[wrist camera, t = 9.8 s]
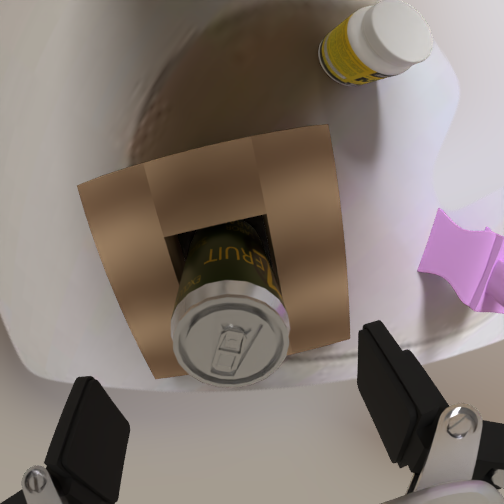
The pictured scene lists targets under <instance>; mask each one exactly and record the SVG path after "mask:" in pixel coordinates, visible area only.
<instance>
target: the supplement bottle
mask: <svg viewBox="0 0 504 504" xmlns="http://www.w3.org/2000/svg"><path fill="white" fill-rule="evenodd" d="M432 47H433V38H432V33H431V31H430V28H429V26H428V24H427V22H426V20H425V19H424V18H423V16H422V15H421V14H420V13H419V12H418V11H417V10H416V9H414V8H413V7H412V6H410V5H409V4H407V3H405V2H402V1H400V0H383V1H380V2H378V3H377V4H375V5H374V6H367V7H363V8H361V9H359V10H357V11H356V12H354V13H353V14H352V15H350V16H349V17H348V18H347V19H346V20H344V21H343V22H342V23H341V24H340V25H338V26H337V27H336V28H335V29H333V30H332V31H331V32H330V33H329V34H327V35H326V36H325V37H324V38H323V40H322V41H321V43H320V45H319V50H318V56H319V61H320V64H321V66H322V68H323V69H324V71H325V72H326V73H327V75H328V76H329V77H331V78H332V79H333V80H335V81H336V82H338V83H340V84H343V85H346V86H359V85H363V84H366V83H370V82H373V81H377V80H380V79H384V78H387V77H391V76H395V75H399V74H401V73H403V72H405V71H407V70H408V69H409V68H410V67H411V66H412V65H414V64H416V63H419V62H422V61H424V60H425V59H427V58H428V56H429V55H430V53H431V51H432Z"/></svg>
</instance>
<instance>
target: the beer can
mask: <svg viewBox="0 0 504 504" xmlns="http://www.w3.org/2000/svg"><path fill="white" fill-rule="evenodd" d="M289 332H290V325H289V318H288V313H287V310H286V307H285V305H284V302H283V299H282V296H281V294H280V291H279V288H278V285H277V283H276V280H275V277H274V274H273V272H272V269H271V266H270V264H269V261H268V258H267V255H266V253H265V250H264V247H263V245H262V242H261V239H260V237H259V236H258V234H257V232H256V230H255V229H254V228H253V227H251V226H250V225H249V224H248V223H247V222H245V221H243V220H236V221H231V222H227V223H222V224H218V225H214V226H209V227H205V228H201V229H198V230H197V232H196V233H195V234H194V237H193V239H192V242H191V244H190V248H189V251H188V255H187V259H186V263H185V266H184V270H183V274H182V278H181V282H180V285H179V289H178V293H177V297H176V301H175V305H174V309H173V313H172V318H171V338H172V341H173V351H174V354H175V356H176V358H177V361H178V363H179V364H180V365H181V367H182V368H183V369H184V370H185V371H186V372H187V373H188V374H189V375H191V376H192V377H194V378H196V379H197V380H199V381H201V382H202V383H206V384H209V385H213V386H216V387H226V388H237V387H243V386H248V385H252V384H254V383H257V382H259V381H261V380H264V379H266V378H267V377H268V376H270V375H271V374H272V373H273V372H275V371H276V370H277V369H278V368H279V366H280V365H281V364H282V362H283V361H284V359H285V358H286V355H287V351H288V347H289Z"/></svg>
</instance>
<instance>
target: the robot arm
mask: <svg viewBox="0 0 504 504" xmlns="http://www.w3.org/2000/svg"><path fill="white" fill-rule="evenodd" d="M357 385H358V388H359V391H360V393H361V396H362V398H363V400H364V402H365V404H366V406H367V408H368V411H369V412H370V415H371V417H372V419H373V422H374V424H375V426H376V428H377V430H378V432H379V435H380V437H381V439H382V441H383V444H384V446H385V448H386V450H387V452H388V455H389V457H390V459H391V461H392V463H396V462H397V463H398V465H399V467H400V468H402V467H404V466H407V465H408V466H409V468H410V470H411V472H413V476H412V479H411V481H410V484H409V486H408V489H407V491H406V493H405V495H404V496H401V497H398V498H396V499H393V500H390V501H387V502H384V503H381V504H504V498H503V496H502V495H501V494H500V492H499V491H498V490H497V489H501V488H503V489H504V424H502V423H496V422H490V421H484V420H482V416H481V414H480V412H479V411H478V410H477V409H476V408H475V407H473V406H472V405H469V404H465V403H458V404H454V405H451V406H449V405H448V403H447V402H446V400H445V399H444V398H443V396H442V395H441V393H440V392H439V390H438V389H437V387H436V386H435V385H434V383H433V381H432V380H431V378H430V377H429V376H428V374H427V373H426V371H425V370H424V368H423V367H422V366H421V364H420V363H419V361H418V360H417V359H416V357H415V356H414V354H413V353H412V352H411V351H410V350H404V351H402V350H401V348H400V347H399V345H398V344H397V343H396V341H395V340H394V338H393V337H392V335H391V334H390V333H389V331H388V330H387V328H386V327H385V326H384V324H383V323H382V322H381V321H380V320H378V321H374V322H371V323H368V324H365V325H363V330H360V331H359V333H358V374H357ZM129 433H130V425H129V423H128V421H127V420H126V419H125V417H124V416H123V415H122V413H121V412H120V411H119V409H118V408H117V407H116V405H115V404H114V403H113V401H112V400H111V399H110V397H109V396H108V394H107V393H106V391H105V390H104V389H103V387H102V386H101V384H100V383H99V381H98V380H95V379H94V378H93V377H92V376H85V377H78V378H77V379H76V380H75V383H74V385H73V387H72V390H71V392H70V394H69V397H68V399H67V402H66V404H65V407H64V409H63V412H62V414H61V417H60V419H59V423H58V425H57V427H56V430H55V433H54V435H53V438H52V441H51V444H50V447H49V449H48V452H47V456H46V458H45V462H44V463H45V464H46V465H47V467H46V469H45V468H44V467H42V466H33V467H30V468H29V469H28V470H27V471H26V472H25V473H24V475H23V478H22V490H20V491H19V492H17V493H16V494H14V495H13V496H11V497H10V498H8V499H6V500H5V501H3V502H2V503H0V504H115V502H117V500H118V496H119V490H120V484H121V477H122V471H123V465H124V460H125V454H126V449H127V443H128V438H129Z"/></svg>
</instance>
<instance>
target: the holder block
mask: <svg viewBox="0 0 504 504" xmlns="http://www.w3.org/2000/svg"><path fill="white" fill-rule="evenodd" d="M77 187H78V191H79V195H80V198H81V201H82V205H83V208H84V211H85V214H86V218H87V221H88V224H89V227H90V230H91V233H92V236H93V239H94V241H95V244H96V247H97V250H98V253H99V255H100V258H101V261H102V263H103V266H104V269H105V271H106V274H107V276H108V279H109V281H110V284H111V286H112V289H113V291H114V294H115V296H116V298H117V301H118V303H119V305H120V308H121V310H122V312H123V314H124V317H125V319H126V321H127V323H128V325H129V328H130V330H131V332H132V334H133V336H134V338H135V340H136V342H137V344H138V346H139V348H140V350H141V352H142V354H143V356H144V358H145V360H146V362H147V364H148V366H149V368H150V370H151V372H152V374H153V376H154V377H155V379H160V378H168V377H175V376H182V375H189V374H188V373H187V372H186V371H185V370H184V369H183V368H182V367H181V365H180V364H179V363H178V361H177V358H176V356H175V354H174V351H173V341H172V338H171V318H172V313H173V309H174V305H175V301H176V297H177V293H178V289H179V285H180V282H181V278H182V274H183V270H184V266H185V263H186V262H185V258H184V255H183V252H182V248H181V245H180V242H179V238H178V235H177V234H180V233H184V232H188V231H192V230H196V229H201V228H205V227H209V226H214V225H218V224H222V223H227V222H231V221H236V220H240V219H245V218H249V217H254V216H258V215H262V217H263V222H264V227H265V232H266V237H267V242H268V247H269V252H270V257H271V262H272V267H273V273H274V277H275V280H276V283H277V285H278V288H279V291H280V294H281V296H282V299H283V302H284V305H285V307H286V310H287V313H288V318H289V325H290V332H289V347H288V351H287V355H291V354H295V353H299V352H303V351H307V350H311V349H315V348H319V347H323V346H326V345H330V344H333V343H337V342H341V341H344V340H347V339H350V317H349V296H348V280H347V266H346V254H345V243H344V232H343V223H342V214H341V205H340V197H339V190H338V182H337V175H336V168H335V161H334V155H333V149H332V143H331V137H330V131H329V125H328V124H324V125H313V126H305V127H299V128H292V129H286V130H280V131H275V132H269V133H264V134H258V135H253V136H248V137H243V138H238V139H234V140H229V141H224V142H220V143H216V144H211V145H207V146H203V147H199V148H195V149H191V150H187V151H183V152H179V153H175V154H172V155H168V156H164V157H161V158H157V159H154V160H150V161H147V162H144V163H140V164H137V165H134V166H131V167H127V168H124V169H121V170H118V171H115V172H112V173H109V174H106V175H103V176H100V177H98V178H95V179H92V180H90V181H87V182H85V183H82V184H80V185H77ZM287 355H286V356H287Z"/></svg>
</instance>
